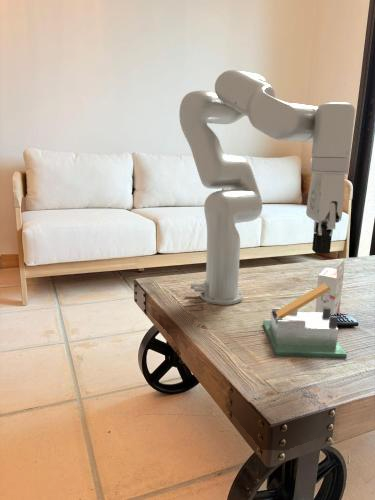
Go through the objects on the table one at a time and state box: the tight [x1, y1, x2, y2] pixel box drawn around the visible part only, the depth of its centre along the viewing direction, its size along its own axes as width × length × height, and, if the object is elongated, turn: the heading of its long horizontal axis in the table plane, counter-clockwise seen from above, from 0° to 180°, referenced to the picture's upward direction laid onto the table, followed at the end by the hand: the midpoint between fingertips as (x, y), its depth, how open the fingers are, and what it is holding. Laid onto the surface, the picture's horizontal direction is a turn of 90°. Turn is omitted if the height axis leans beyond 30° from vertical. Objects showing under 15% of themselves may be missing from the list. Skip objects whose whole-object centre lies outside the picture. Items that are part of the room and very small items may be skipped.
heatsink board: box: [262, 307, 348, 359], centre depth 90 cm, size 15×16×7 cm
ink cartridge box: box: [314, 259, 345, 315], centre depth 105 cm, size 9×5×15 cm, turn 148°
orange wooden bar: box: [276, 283, 330, 318], centre depth 89 cm, size 13×3×1 cm
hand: (320, 251), depth 86 cm, fingers closed
